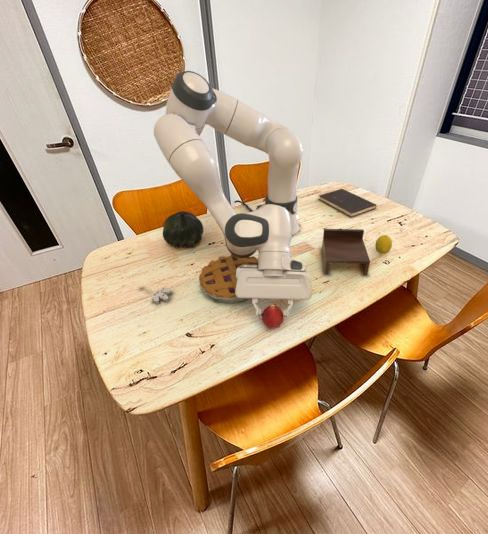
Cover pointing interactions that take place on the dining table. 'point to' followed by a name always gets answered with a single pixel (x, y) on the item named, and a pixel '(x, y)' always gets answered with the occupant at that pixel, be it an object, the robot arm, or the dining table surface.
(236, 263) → the pie
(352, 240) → the shelf
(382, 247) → the lemon
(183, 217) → the squash
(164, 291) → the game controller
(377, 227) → the dining table surface
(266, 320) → the red round solid
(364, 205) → the hardcover book
